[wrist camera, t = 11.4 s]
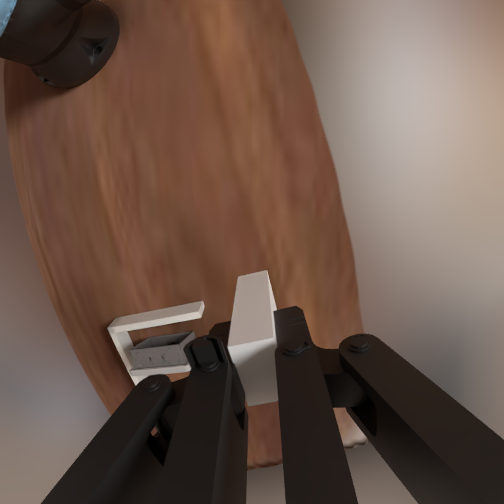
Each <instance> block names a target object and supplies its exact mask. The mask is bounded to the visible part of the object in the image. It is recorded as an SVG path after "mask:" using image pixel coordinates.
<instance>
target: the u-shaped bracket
mask: <svg viewBox="0 0 504 504" xmlns="http://www.w3.org/2000/svg"><path fill="white" fill-rule="evenodd" d="M204 307H205V306H204V303H203V301H199V302H194V303H189V304H184V305H179V306H175V307H169V308H164V309H159V310H154V311H149V312H144V313H139V314H133V315H128V316H123V317H117V318H115V319H114V321H113V322H112V323H111V324H110V325H109V327H108V331H109V333H110V335H111V337H112V339H113V342H114V344H115V346H116V348H117V350H118V352H119V354H120V356H121V358H122V360H123V362H124V364H125V366H126V368H127V370H128V372H129V369H131V368H133V364H132V357H131V354H130V349H132V348H133V347H134V345H133V343H132V341H131V339H130V337H129V334H128V332H127V331H130V330H136V329H142V328H148V327H153V326H159V325H165V324H170V323H176V322H181V321H187V320H192V319H197V318H201V316H202V313H203V310H204ZM129 374H130V372H129ZM130 376H131V374H130ZM146 377H148V375H145V376H131V378H132V380H133V382H134V383H135V385H137V384H138V383H139V382H140V381H141V380H143V379H144V378H146Z"/></svg>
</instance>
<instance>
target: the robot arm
mask: <svg viewBox="0 0 504 504" xmlns="http://www.w3.org/2000/svg"><path fill="white" fill-rule="evenodd" d="M118 37H119V21H118V18H117V16H116V14H115V13H114V12H113V11H112V10H111V9H110V8H109V7H108V6H107V5H106V4H104V3H102V2H100V1H96V0H0V57H1V58H4V59H8V60H11V61H15V62H18V63H21V64H24V65H27V66H29V67H30V69H31V70H32V71H33V72H34V73H35V74H36V75H37V77H38V78H39V79H40V80H41V81H42V82H44V83H45V84H47V85H50V86H53V87H56V88H71V87H75V86H78V85H80V84H82V83H84V82H85V81H87V80H89V79H90V78H91V77H93V76H94V75H95V74H96V73H97V72H98V71H99V70H100V69H101V68H102V67H103V66H104V65H105V63H106V62H107V61H108V59H109V58H110V56H111V55H112V53H113V51H114V49H115V47H116V44H117V41H118ZM183 350H184V353H185V355H186V357H187V360H188V362H189V365H190V367H191V371H190V374H189V376H188V377H186V378H183V379H180V380H177V381H174V382H171V381H170V379H169V377H167V376H166V375H163V374H155V375H151V376H148V377H146V378H144V379H143V380H141V381H140V382H139V383H138V384H137V385H136V386H135V387H134V389H133V390H132V391H131V392H130V394H129V395H128V396H127V397H126V398H125V400H124V401H123V402H122V403H121V405H120V406H119V407H118V408H117V410H116V411H115V412H114V413H113V414H112V416H111V417H110V418H109V419H108V421H107V422H106V423H105V424H104V426H103V427H102V428H101V429H100V431H99V432H98V433H97V434H96V436H95V437H94V438H93V439H92V440H91V442H90V443H89V444H88V446H87V447H86V448H85V449H84V451H83V452H82V453H81V454H80V455H79V457H78V458H77V459H76V460H75V462H74V463H73V464H72V465H71V467H70V468H69V469H68V470H67V472H66V473H65V474H64V475H63V477H62V478H61V479H60V480H59V482H58V483H57V484H56V485H55V487H54V488H53V489H52V490H51V492H50V493H49V494H48V495H47V497H46V498H45V499H44V500H43V502H42V503H41V504H246V487H247V486H246V485H247V450H248V413H247V410H246V407H245V398H246V400H247V403H248V406H253V405H259V404H265V403H270V402H276V401H278V403H279V416H280V429H281V442H282V455H283V469H284V483H285V498H286V504H358V502H357V497H356V493H355V489H354V485H353V481H352V477H351V473H350V470H349V466H348V462H347V458H346V454H345V450H344V447H343V443H342V439H341V436H340V432H339V428H338V425H337V421H336V417H335V414H334V410H333V408H340V407H345V408H346V411H347V412H348V414H349V415H350V416H351V418H352V419H353V420H354V422H355V423H356V424H357V426H358V427H359V428H360V429H361V431H362V432H363V433H364V435H365V436H366V437H367V439H368V440H369V441H370V442H371V444H372V445H373V446H374V448H375V449H376V450H377V451H378V453H379V454H380V455H381V457H382V458H383V459H384V460H385V462H386V463H387V464H388V466H389V467H390V468H391V469H392V471H393V472H394V473H395V475H396V476H397V477H398V478H399V480H400V481H401V482H402V483H403V485H404V486H405V487H406V489H407V490H408V491H409V492H410V494H411V495H412V496H413V497H414V499H415V500H416V501H417V502H418V504H504V440H503V439H502V438H501V437H500V436H499V435H497V434H496V433H495V432H494V431H493V430H491V429H490V428H489V427H488V426H486V425H485V424H484V423H483V422H482V421H480V420H479V419H478V418H476V417H475V416H474V415H473V414H472V413H471V412H469V411H468V410H467V409H466V408H464V407H463V406H462V405H461V404H459V403H458V402H457V401H456V400H454V399H453V398H452V397H451V396H450V395H448V394H447V393H446V392H445V391H443V390H442V389H441V388H440V387H438V386H437V385H436V384H435V383H433V382H432V381H431V380H430V379H429V378H427V377H426V376H425V375H424V374H422V373H421V372H420V371H419V370H417V369H416V368H415V367H414V366H412V365H411V364H410V363H409V362H407V361H406V360H405V359H403V358H402V357H401V356H400V355H399V354H397V353H396V352H395V351H394V350H392V349H391V348H390V347H388V346H387V345H386V344H385V343H383V342H382V341H381V340H380V339H379V338H377V337H375V336H373V335H370V334H356V335H353V336H349V337H348V338H346V339H344V340H343V341H342V342H341V343H340V344H339V349H324V348H320V347H317V346H316V345H315V344H314V343H313V342H312V339H311V336H310V333H309V329H308V326H307V323H306V320H305V316H304V313H303V310H302V309H300V308H299V307H297V306H293V307H289V308H284V309H280V310H277V309H276V305H275V301H274V297H273V293H272V289H271V285H270V280H269V276H268V272H267V270H265V271H261V272H257V273H252V274H248V275H243V276H239V277H238V281H237V287H236V294H235V300H234V307H233V314H232V320H231V321H228V322H223V323H218V324H215V325H214V327H213V328H212V329H211V330H210V332H209V335H205V336H201V337H198V338H195V339H193V340H191V341H190V342H189V343H187V344H186V345H185V347H184V348H183ZM154 427H155V428H156V429H157V433H156V434H155V435H154V436H152V434H151V431H152V430H153V428H154Z"/></svg>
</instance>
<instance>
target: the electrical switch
mask: <svg viewBox="0 0 504 504" xmlns="http://www.w3.org/2000/svg"><path fill="white" fill-rule="evenodd" d="M181 335H182V336H181ZM165 339H166V340H165ZM193 339H195V334H194V331H192V332H185V333H178V334H171V335H163V336H156V337H150V338H147V339H146V340H144V341H143V342H141V343H140V344H138V345H136V346H135V347H133V348H132V349H130V354H131V357H132V364H133V368H131V369H129V372H130V374H131V376H145V375H155V374H169V373H179V372H187V371H190V370H191V367H190V365H189V362H188V360H187V357H186V355H185V353H184V350H183V348H184V347H185V345H186V344H187V343H189V342H190V341H191V340H193ZM150 340H151V341H150ZM167 342H168V343H167ZM172 342H175V343H176V345H171V343H172ZM178 342H179V344H180V345H179V344H178ZM156 345H157V346H156ZM168 345H169V346H168Z"/></svg>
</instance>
